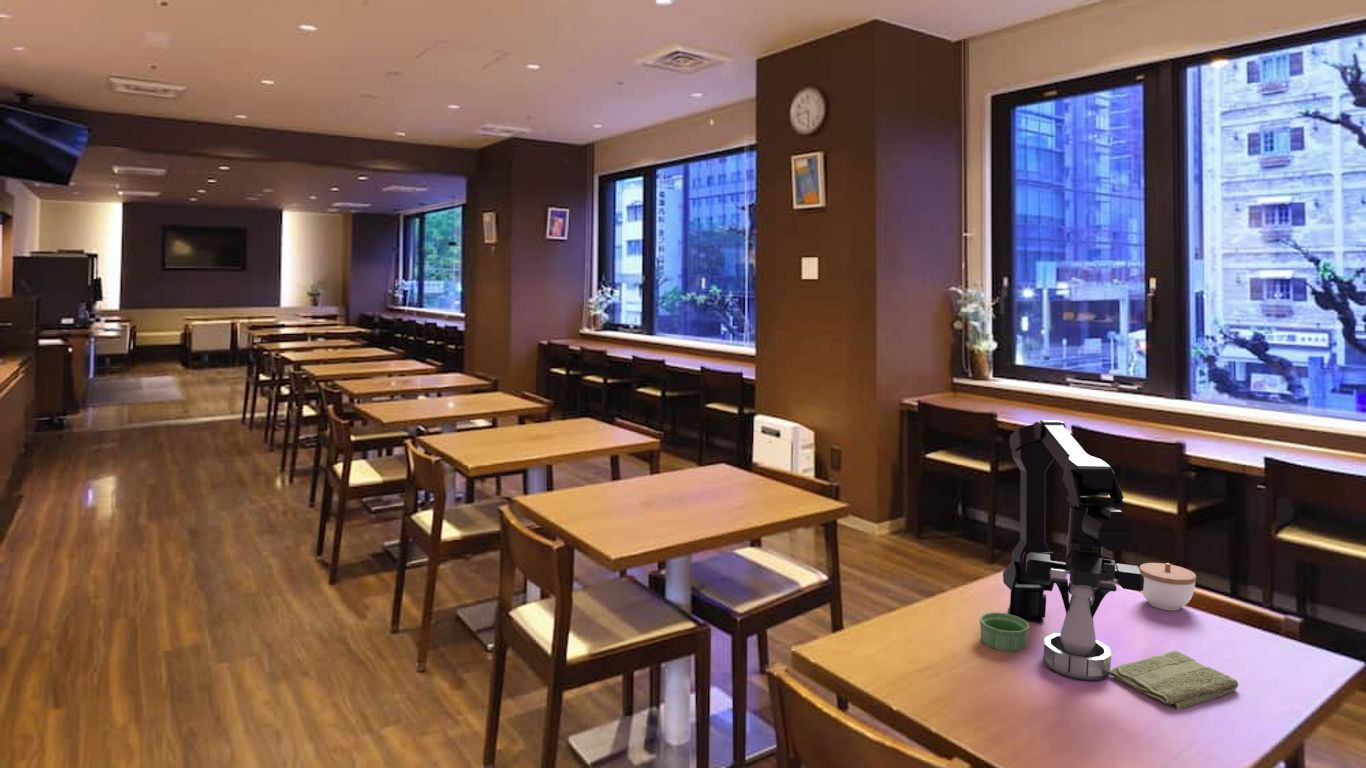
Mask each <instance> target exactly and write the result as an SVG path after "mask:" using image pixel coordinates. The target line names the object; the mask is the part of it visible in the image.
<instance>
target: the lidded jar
mask: <svg viewBox="0 0 1366 768" xmlns="http://www.w3.org/2000/svg"><path fill="white" fill-rule="evenodd" d="M1138 567H1139V568H1140V569H1141V571H1142V574H1143V576H1144V588H1143V591H1140V592H1141V594H1142V596H1143V597H1144V599H1145V600H1147V602H1149V603H1148V604H1149V605H1150V604H1151V605H1150V606H1152V607H1154V608H1156V609H1160V610H1165V611H1170V612H1171V611H1175V612H1176V611H1179V609H1180V608H1181V609H1182V608H1183V607H1185V606H1186V605H1188V604H1189V602H1190V601H1191V599H1192V598H1193V595H1194V593H1195V589H1196V581H1197V575H1196V573H1195V572H1193V571H1192V570H1189V569H1188V568H1184V567H1182V566H1178V565H1173V564H1171V563H1169V562H1165V563H1162V562H1148V563H1147V562H1146V563H1142V564H1140V566H1138ZM1181 609H1180V610H1181Z"/></svg>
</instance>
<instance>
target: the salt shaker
mask: <svg viewBox="0 0 1366 768" xmlns="http://www.w3.org/2000/svg"><path fill="white" fill-rule="evenodd" d="M1068 592H1069V594H1070V595H1071V597H1070V599H1069V605H1070V608H1069V610H1068V612H1067V614H1066V613H1065V617H1064V621H1063V624H1062V626H1061V630H1060V637H1061V641H1062V644H1063V647H1064V649H1065V651H1067V652H1069V653H1071V654H1073V655H1080V656H1085V655H1087V654H1090V652H1091V650H1092V649H1093V647H1094V646H1095V644H1096V640H1097V639H1096V632H1095V631H1096V630H1095V624H1094V623H1095V622H1094V617H1093V618H1092V616H1091V599H1092V597H1093V596H1094V594H1095V588H1092V587H1091V586H1085V585H1074V584H1072V583H1071V582H1070V581H1068Z"/></svg>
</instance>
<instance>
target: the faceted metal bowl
mask: <svg viewBox="0 0 1366 768" xmlns="http://www.w3.org/2000/svg"><path fill="white" fill-rule="evenodd" d="M1060 633H1061V632H1060ZM1060 633H1051V634H1049V635H1047V636H1045V637H1044V640H1043V641H1044V642H1043V655H1042V664H1043V666H1044V667H1045V668H1046V669H1048V671H1050V672H1052V673H1054V674H1056V675H1057V676H1060V677H1063V678H1067V679H1069V680H1074V681H1079V682H1088V683H1090V682H1091V683H1093V682H1096V683H1097V682H1101V681H1104V680H1107V679H1109V677H1110V675H1109V672H1110V671H1111V664H1112V652H1111V651H1112V650H1111V649H1110V647H1109V646H1108V645H1106V644H1105V643H1103V642H1102V641H1099V640H1097V639H1096V644H1095V646H1094V647H1093V649H1092V650H1091V652H1090V654H1087V655H1085V656H1080V655H1073V654H1071V653H1069V652H1067V651H1065V649H1064V647H1063V644H1062V641H1061V637H1060Z"/></svg>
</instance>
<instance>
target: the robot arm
mask: <svg viewBox="0 0 1366 768" xmlns="http://www.w3.org/2000/svg"><path fill="white" fill-rule="evenodd" d="M1009 447H1010V449H1011V458H1012V459H1013V460H1014V462H1015V464H1016V466H1017V468H1018V469H1019V470H1020V476H1019V477H1020V483H1019V484H1020V491H1019V492H1020V493H1019V494H1020V495H1019V497H1020V505H1019V506H1020V507H1019V508H1020V510H1019V511H1020V513H1019V515H1020V516H1019V517H1020V519H1019V520H1020V521H1019V524H1020V525H1019V526H1020V527H1019V528H1020V529H1019V530H1020V532H1019V533H1020V534H1019V535H1020V537H1019V541H1018V542H1017V544H1016V545H1015V547H1014V548H1013V550H1011V551H1012V552H1011V558H1010V559H1011V560H1010V562H1009V563H1008V565H1007V566H1006V567H1005V569H1004V570H1003V572H1002V580H1003V584H1004V585H1005V586H1006V587H1007V588H1008V589H1009V590H1010V597H1009V598H1010V600H1009V605H1008V614H1010V615H1014V616H1017V617H1020V618H1022V619H1024V620H1025V621H1026V622H1033V623H1039V624H1042V623H1043V620H1044V619H1043V618H1046V610H1047V609H1046V608H1047V595H1046V594H1045V592H1052V591H1053V589H1054V587H1055V585H1056V586H1057V588H1058V591H1059V592H1060V595H1061V599H1062V601H1063V602H1062V604H1063V606H1064V610H1065V615H1066V614H1067V612H1068V610H1069V608H1070V605H1069V603H1070V595H1069V594H1070V593H1069V591H1068V585H1069V582H1071V583H1072V584H1074V585H1085V586H1091V587H1092V588H1095V594H1094V596H1093V597H1092V598H1091V616H1092V618H1093V619H1094V617H1095V614H1096V612H1097V610H1098V609H1099V606H1100V604H1101V603H1102V602H1103V600H1104V598H1105V597H1106V595H1107V594H1109V592H1116V591H1117V589H1118V588H1117V583H1118V586H1120V587H1121V589H1123V590H1130V591H1138V592H1141V591H1143V588H1144V576H1143V574H1142V571H1141V569H1140V568H1139V566H1138V565H1133V564H1132V565H1131V564H1125V563H1118V562H1117V563H1116V561H1115V560H1114V559H1108V558H1107V559H1106V558H1104V557H1103V549H1105V550H1107V551H1109V552H1115V553H1116V552H1121V551H1122V550H1126V548H1128V547H1129V546H1130V545H1131V543H1132V541H1133V538H1134V531H1133V528H1132V526H1131V524H1130V522H1128V521H1127V520H1126V519H1125V518H1124V519H1123V515H1124V514H1123V513H1124V512H1123V511H1122V510H1120V509H1123V508H1124V505H1125V504H1124V502H1123V499H1124V498H1125V497H1124V494H1123V492H1122V489H1121V487H1120V485H1119V481H1118V478H1117V475H1116V472H1115V471H1114V469H1113V468H1112V467H1111V465H1109V464H1108V463H1107V462H1106V461H1104V460H1102V459H1101V458H1098V457H1095V456H1092V455H1090V454H1088V453H1087V452H1086V451H1085V450H1084V449H1083V447H1082V446H1081V445H1080V443H1078V441H1077V440H1076V439H1075V438H1074V437H1073V435H1072V434H1071V433H1070V431H1068V429H1067V427H1066V424H1065V422H1063V421H1060V419H1059V420H1050V419H1049V420H1048V419H1047V420H1046V419H1044V420H1040V419H1039V420H1038V421H1035V422H1034V423H1033V424H1029V425H1026V426H1022V427H1020V428H1019V427H1018V428H1016V430H1014V431H1013V432H1012V433H1011V434H1010V436H1009ZM1054 460H1056V462H1057V463H1058V464H1059V466H1060V467H1061V468H1062V470H1063V472H1064V473H1063V477H1062V482H1063V483H1064V486H1065V489H1066V491H1067V493H1068V496H1067V497H1066V501H1067V502H1068V503H1070V505H1069V513H1068V514H1069V517H1068V528H1067V538H1066V539H1067V540H1066V554H1065V562H1064V561H1057V560H1056V555H1055V552H1051V549H1050V548H1049V546H1048V545H1047V542H1046V475H1047V474H1046V472H1047V470H1048V469H1049V467H1050V466H1051V464H1052V463H1053V462H1054ZM1068 575H1069V581H1068Z"/></svg>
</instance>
